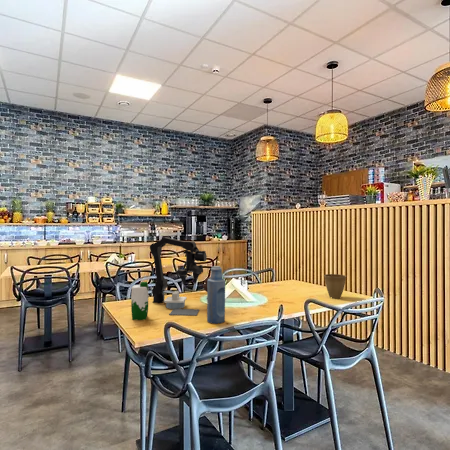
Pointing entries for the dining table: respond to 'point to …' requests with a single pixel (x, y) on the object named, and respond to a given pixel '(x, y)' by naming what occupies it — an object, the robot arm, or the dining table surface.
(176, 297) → the cover
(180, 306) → the dish
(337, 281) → the plant pot
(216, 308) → the bottle
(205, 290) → the ice cream bowl
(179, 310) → the mat
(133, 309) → the milk carton
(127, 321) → the dining table surface
